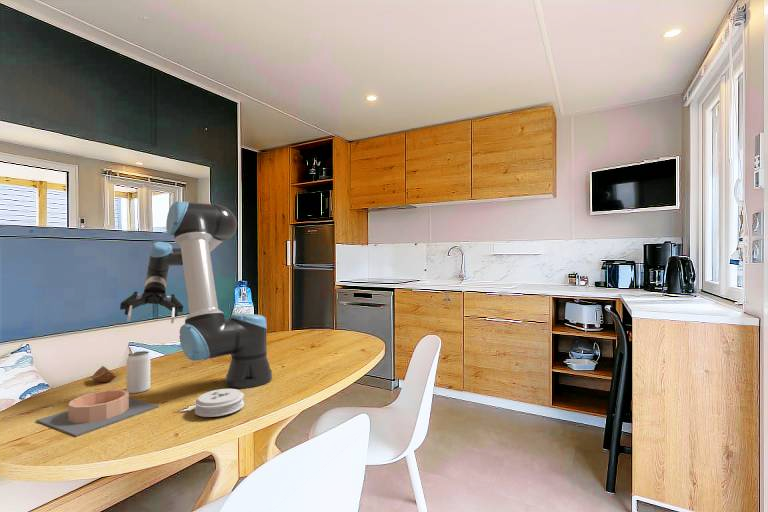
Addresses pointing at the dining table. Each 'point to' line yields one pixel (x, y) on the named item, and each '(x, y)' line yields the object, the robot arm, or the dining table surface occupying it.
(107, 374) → the fruit slice
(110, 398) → the bowl
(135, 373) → the can
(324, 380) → the dining table surface
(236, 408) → the lid
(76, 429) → the mat
